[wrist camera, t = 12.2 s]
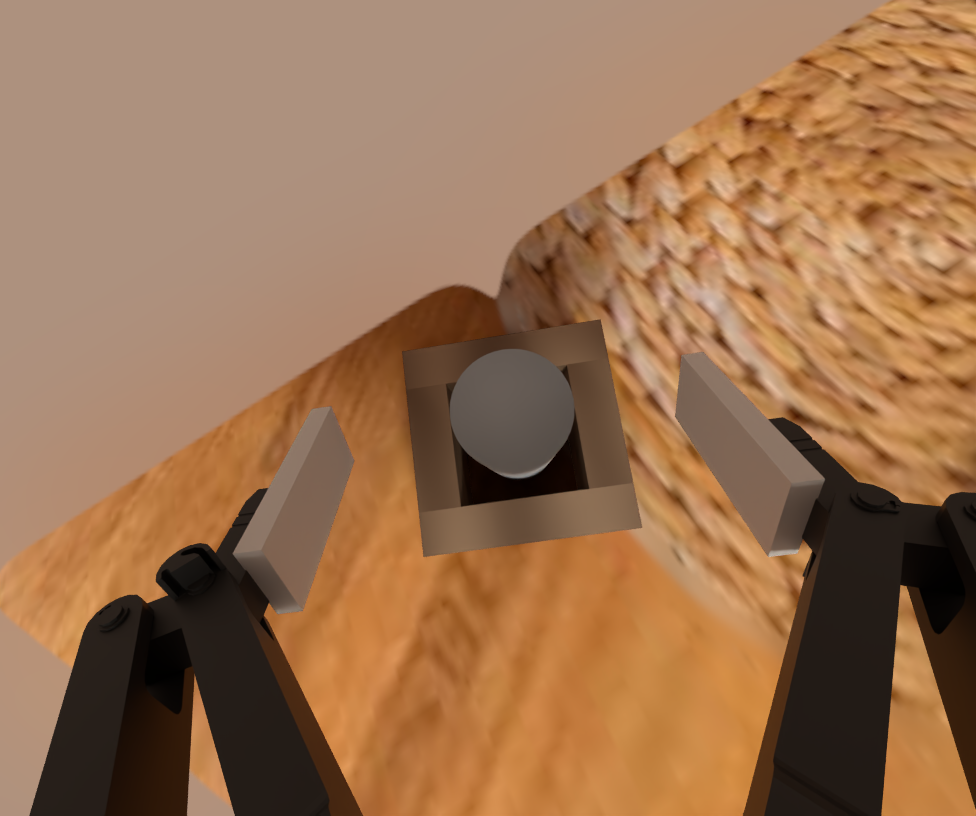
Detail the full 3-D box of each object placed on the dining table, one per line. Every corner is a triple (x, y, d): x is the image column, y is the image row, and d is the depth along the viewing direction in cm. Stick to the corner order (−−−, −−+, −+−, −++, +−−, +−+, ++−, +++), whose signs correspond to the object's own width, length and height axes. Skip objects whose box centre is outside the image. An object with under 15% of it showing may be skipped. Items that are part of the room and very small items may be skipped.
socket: (587, 351, 27) (600, 319, 22) (619, 520, 25) (642, 527, 20) (424, 376, 27) (402, 351, 22) (443, 544, 25) (423, 556, 20)
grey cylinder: (546, 407, 26) (562, 340, 14) (557, 475, 25) (585, 461, 14) (480, 417, 26) (442, 358, 15) (489, 484, 26) (457, 479, 14)
